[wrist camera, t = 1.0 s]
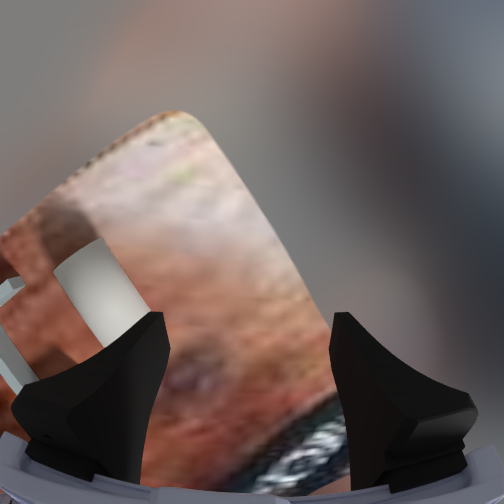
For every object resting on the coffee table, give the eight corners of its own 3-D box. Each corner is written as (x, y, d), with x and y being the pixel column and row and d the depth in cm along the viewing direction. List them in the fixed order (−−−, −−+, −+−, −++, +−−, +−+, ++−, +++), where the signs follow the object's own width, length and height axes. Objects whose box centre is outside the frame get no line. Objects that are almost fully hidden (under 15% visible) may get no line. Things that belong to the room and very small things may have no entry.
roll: (107, 336, 25) (100, 355, 20) (62, 269, 23) (45, 274, 18) (151, 306, 26) (152, 319, 21) (106, 237, 25) (97, 235, 20)
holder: (47, 403, 22) (38, 421, 19) (-18, 310, 20) (-35, 317, 17) (89, 376, 24) (82, 392, 20) (20, 275, 22) (4, 279, 18)
